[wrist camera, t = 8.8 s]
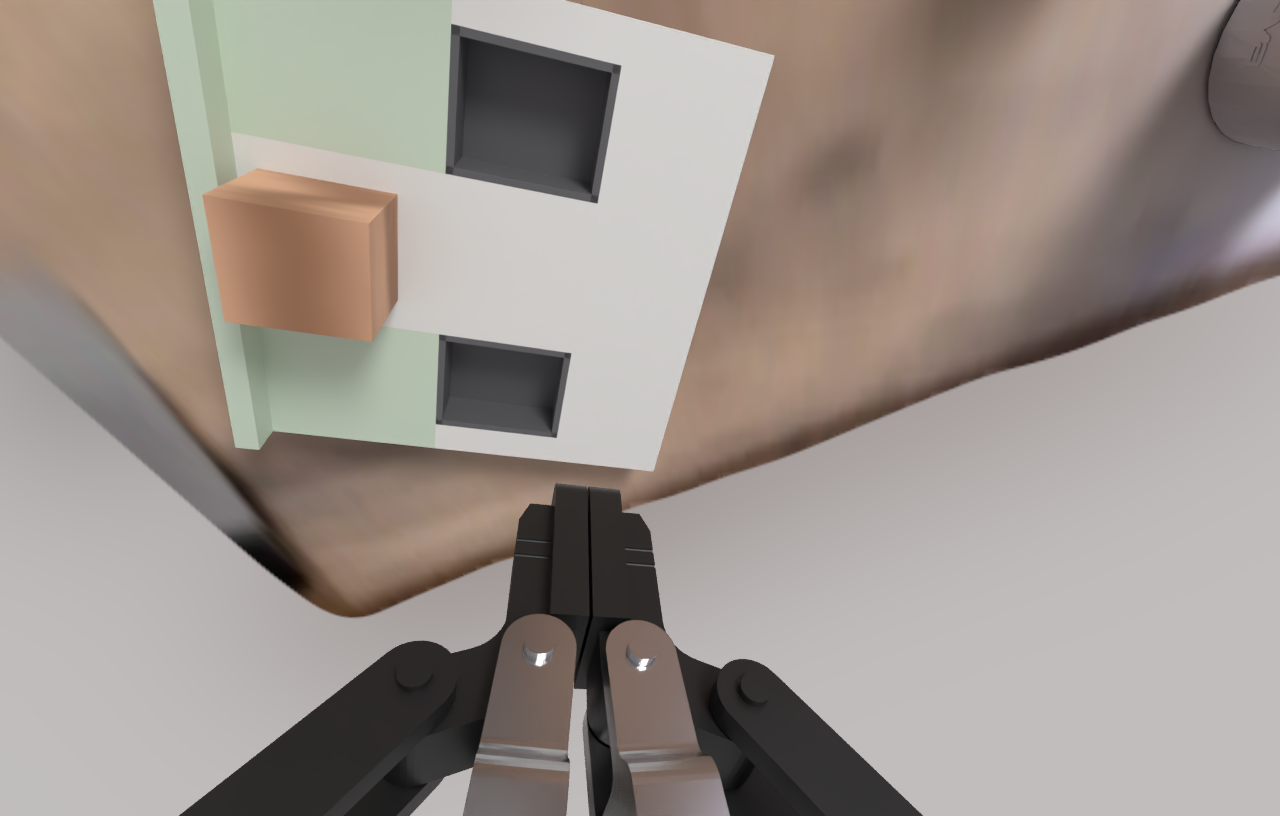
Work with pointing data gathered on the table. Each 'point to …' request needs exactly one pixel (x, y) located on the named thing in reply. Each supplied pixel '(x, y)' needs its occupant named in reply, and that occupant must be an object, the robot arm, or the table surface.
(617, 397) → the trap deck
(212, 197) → the block
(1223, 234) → the table surface
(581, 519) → the robot arm
